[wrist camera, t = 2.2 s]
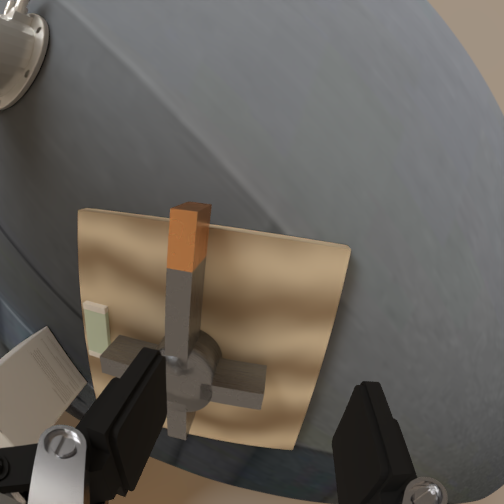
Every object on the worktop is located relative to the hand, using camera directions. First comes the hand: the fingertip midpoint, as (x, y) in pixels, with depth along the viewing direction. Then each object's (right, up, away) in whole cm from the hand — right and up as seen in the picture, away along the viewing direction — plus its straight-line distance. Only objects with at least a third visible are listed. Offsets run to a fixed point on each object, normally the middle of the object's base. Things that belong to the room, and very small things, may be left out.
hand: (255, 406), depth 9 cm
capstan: (-5, -1, +17) cm, 18 cm away
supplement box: (-27, -10, +24) cm, 37 cm away
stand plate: (-6, -4, +20) cm, 21 cm away
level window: (-16, -3, +19) cm, 25 cm away
